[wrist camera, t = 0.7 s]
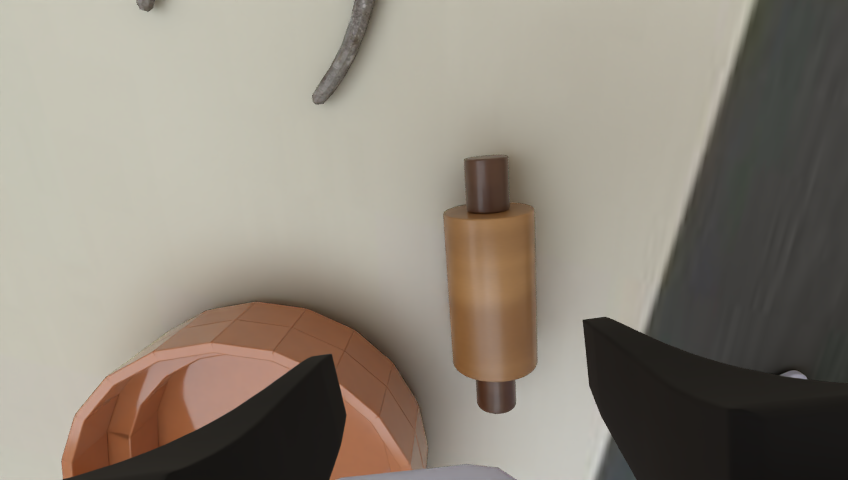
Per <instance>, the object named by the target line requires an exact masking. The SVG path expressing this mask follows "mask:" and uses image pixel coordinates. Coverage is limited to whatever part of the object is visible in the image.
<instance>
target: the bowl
mask: <svg viewBox="0 0 848 480" xmlns="http://www.w3.org/2000/svg"><path fill="white" fill-rule="evenodd" d="M325 354H332V357H333V361H334V365H335V369H336V373H337V377H338V381H339V385H340V389H341V394H342V398H343V402H344V406H345V410H346V414H347V416H346V422H345V427H344V433H343V438H342V443H341V447H340V450H339V453H338V456H337V459H336V462H335V465H334V468H333V471H332V474H331V477H330V479H329V480H336V479H339V478H343V477H353V476H362V475H371V474H381V473H390V472H399V471H409V470H418V469H426V466H427V454H428V444H427V440H426V435H425V431H424V426H423V422H422V418H421V413H420V409H419V405H418V402H417V400H416V399H415V397H414V396H413V394H412V392H411V391H410V389H409V388H408V386H407V384H406V383H405V381H404V380H403V378H402V376H401V375H400V373H399V372H398V370H397V368H396V367H395V365H394V364H393V362H392V361H391V360H389V359H388V358H387V357H386V356H385V355H384V354H382V353H381V352H380V351H379V350H378V349H377V348H375V347H374V346H373V345H372V344H371V343H370V342H369V341H367V340H366V339H365V338H364V337H363V336H362V335H360V334H359V333H358V332H357V331H356V330H354V329H352V328H350V327H347V326H345V325H343V324H341V323H338V322H336V321H334V320H332V319H330V318H327V317H325V316H323V315H321V314H318V313H316V312H314V311H312V310H310V309H306V308H300V307H293V306H285V305H278V304H271V303H263V302H250V303H244V304H239V305H233V306H227V307H221V308H215V309H209V310H207V311H204V312H202V313H200V314H199V315H197V316H195V317H193V318H191V319H190V320H188V321H186V322H184V323H182V324H181V325H179V326H177V327H175V328H173V329H171V330H170V331H168V332H167V333H165V334H164V335H163V336H161V337H160V338H158V339H157V340H156V341H154V342H153V343H152V344H150V345H149V346H148V347H146V348H145V349H143V350H142V351H141V352H139V353H138V354H137V355H135V356H134V357H132V358H131V359H130V360H128V361H127V362H126V363H124V364H123V365H122V366H120V367H119V368H117V369H116V370H115V371H113V372H112V373H111V374H109V375H108V376H107V377H105V379H104V380H103V381H102V382H101V384H100V385H99V386H98V387H97V388H96V390H95V391H94V392H93V393H92V394H91V396H90V397H89V398H88V399H87V401H86V402H85V403H84V404H83V405H82V407H81V408H80V409H79V410H78V411H77V413H76V414H75V416H74V419H73V422H72V426H71V429H70V433H69V436H68V439H67V443H66V446H65V449H64V453H63V456H62V461H61V463H62V474H63V479H66V478H70V477H73V476H77V475H80V474H83V473H87V472H90V471H93V470H96V469H100V468H103V467H106V466H109V465H113V464H115V463H118V462H121V461H124V460H127V459H130V458H132V457H135V456H138V455H140V454H143V453H146V452H148V451H151V450H153V449H156V448H158V447H160V446H163V445H165V444H167V443H170V442H172V441H174V440H176V439H178V438H180V437H182V436H184V435H187V434H189V433H191V432H193V431H195V430H197V429H199V428H201V427H203V426H205V425H207V424H209V423H210V422H212V421H214V420H216V419H218V418H219V417H221V416H223V415H225V414H226V413H228V412H230V411H231V410H233V409H235V408H236V407H238V406H239V405H241V404H242V403H244V402H245V401H247V400H248V399H250V398H251V397H253V396H254V395H256V394H257V393H259V392H260V391H262V390H263V389H265V388H266V387H267V386H269V385H270V384H272V383H273V382H274V381H276V380H277V379H278V378H280V377H281V376H283V375H284V374H285V373H287V372H288V371H289V370H291V369H292V368H294V367H295V366H297V365H298V364H299V363H301V362H302V361H304V360H306V359H307V358H309V357H311V356H318V355H325Z"/></svg>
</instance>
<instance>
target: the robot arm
mask: <svg viewBox="0 0 848 480" xmlns="http://www.w3.org/2000/svg"><path fill="white" fill-rule="evenodd" d="M583 327H584V337H585V347H586V357H587V367H588V377H589V386H590V389H591V391H592V394H593V396H594V399H595V402H596V404H597V407H598V409H599V412H600V414H601V417H602V418H603V420H604V422H605V424H606V426H607V428H608V429H609V431H610V433H611V435H612V437H613V438H614V440H615V442H616V444H617V445H618V447H619V449H620V451H621V453H622V454H623V456H624V458H625V460H626V461H627V463H628V465H629V467H630V469H631V470H632V472H633V474H634V476H635V477H636V479H637V480H848V383H837V382H824V381H816V380H808V379H807V378H806V376H805V375H803V374H802V373H801V372H799V371H796V370H792V371H788V372H785V373H783V374H781V375H774V374H768V373H763V372H758V371H754V370H749V369H744V368H740V367H736V366H732V365H728V364H724V363H720V362H717V361H714V360H710V359H707V358H704V357H700V356H697V355H694V354H691V353H689V352H686V351H683V350H681V349H678V348H676V347H673V346H670V345H668V344H665V343H663V342H661V341H658V340H656V339H654V338H652V337H649V336H647V335H645V334H643V333H641V332H638V331H636V330H634V329H632V328H630V327H628V326H626V325H624V324H622V323H619V322H617V321H615V320H613V319H610V318H607V317H601V318H593V319H586V320H583ZM346 416H347V414H346V410H345V406H344V402H343V398H342V394H341V389H340V385H339V381H338V377H337V373H336V369H335V365H334V361H333V357H332V354H325V355H318V356H311V357H309V358H307V359H306V360H304V361H302V362H301V363H299V364H298V365H297V366H295V367H294V368H292V369H291V370H289V371H288V372H287V373H285V374H284V375H283V376H281V377H280V378H278V379H277V380H276V381H274V382H273V383H272V384H270V385H269V386H267V387H266V388H265V389H263V390H262V391H260V392H259V393H257V394H256V395H254V396H253V397H251V398H250V399H248V400H247V401H245V402H244V403H242V404H241V405H239V406H238V407H236V408H235V409H233V410H231V411H230V412H228V413H226V414H225V415H223V416H221V417H219V418H218V419H216V420H214V421H212V422H210V423H209V424H207V425H205V426H203V427H201V428H199V429H197V430H195V431H193V432H191V433H189V434H187V435H184V436H182V437H180V438H178V439H176V440H174V441H172V442H170V443H167V444H165V445H163V446H160V447H158V448H156V449H153V450H151V451H148V452H146V453H143V454H140V455H138V456H135V457H132V458H130V459H127V460H124V461H121V462H118V463H115V464H113V465H109V466H106V467H103V468H100V469H96V470H93V471H90V472H87V473H83V474H80V475H77V476H73V477H70V478H66V479H63V480H329V479H330V477H331V474H332V471H333V468H334V465H335V462H336V459H337V456H338V453H339V450H340V447H341V443H342V438H343V433H344V427H345V422H346ZM336 480H516V479H515V478H513V477H512V476H510V475H509V474H507V473H506V472H504V471H502V470H501V469H499V468H496V467H487V466H479V465H470V464H465V465H455V466H446V467H437V468H427V469H418V470H409V471H399V472H390V473H381V474H371V475H362V476H353V477H343V478H339V479H336Z"/></svg>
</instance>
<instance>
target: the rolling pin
mask: <svg viewBox="0 0 848 480" xmlns="http://www.w3.org/2000/svg"><path fill="white" fill-rule="evenodd" d="M464 170H465V188H466V205H461V206H457V207H453V208H450V209H448V210H446V211H445V212H444V214H443V217H444V232H445V247H446V262H447V277H448V292H449V307H450V322H451V337H452V352H453V363H454V366H455V367H456V369H457V370H458V371H459V372H460V373H461V374H463V375H465V376H467V377H469V378H472V379H475V380H476V390H477V403H478V405H479V407H480V408H481V409H482V410H484V411H486V412H489V413H494V414H501V413H506V412H509V411H510V410H512V409H513V408H514V407H515V405H516V384H515V380H516V379H519V378H522V377H524V376H526V375H528V374H529V373H531V372H532V371H533V370H534V369H535V367H536V365H537V311H536V259H535V210H534V208H533V207H532V206H530V205H526V204H522V203H513V202H510V198H509V166H508V156H506V155H486V156H475V157H468V158H465V159H464Z"/></svg>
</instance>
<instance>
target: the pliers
mask: <svg viewBox="0 0 848 480" xmlns="http://www.w3.org/2000/svg"><path fill="white" fill-rule="evenodd" d="M154 1H155V0H137V5H138V6H139V8H140V9H142V10H145V11H150V10H151V9H152V8H153V7H154ZM374 1H375V0H355V2H354V6H353V10H352V14H351V18H350V22H349V25H348V28H347V31H346V34H345V36H344V39H343V42H342V45H341V47H340V49H339V51H338V53H337V55H336V57H335V59H334V61H333V63H332V65H331V67H330V68H329V70H328V71H327V73H326V74H325V76H324V77H323V79H322V80H321V82H320V83H319V85H318V87H317V88H316V90H315V91H314V93H313V95H312V98H313V102H314V103H315V104H324V102H325V101H326V100H327V99H328V98H329V97H330V96H331V95H332V94H333V92H334V91H335V89H336V88H337V86H338V85H339V83H340V82H341V81H342V79H343V78H344V76H345V74H346V73H347V71H348V69H349V67H350V65H351V63H352V61H353V59H354V58H355V56H356V54H357V51H358V49H359V46H360V44H361V41H362V39H363V36H364V34H365V31H366V29H367V25H368V22H369V19H370V15H371V12H372V9H373V5H374Z"/></svg>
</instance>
